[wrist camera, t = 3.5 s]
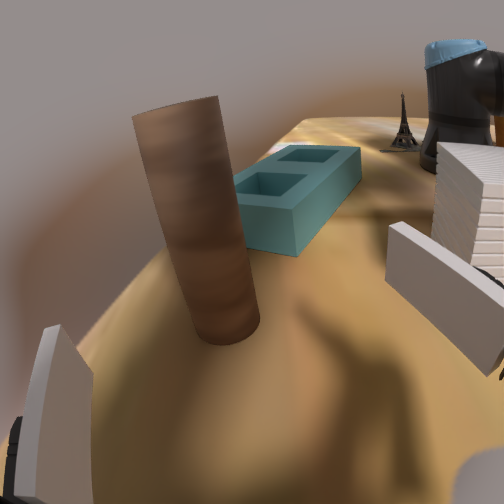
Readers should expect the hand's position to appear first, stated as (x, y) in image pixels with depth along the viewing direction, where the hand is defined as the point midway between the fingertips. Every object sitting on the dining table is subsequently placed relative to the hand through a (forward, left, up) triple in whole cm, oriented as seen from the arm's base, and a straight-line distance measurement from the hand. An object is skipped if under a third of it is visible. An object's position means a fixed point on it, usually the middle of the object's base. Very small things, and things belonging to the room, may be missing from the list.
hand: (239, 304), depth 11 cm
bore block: (-28, -12, -9) cm, 32 cm away
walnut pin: (-6, -7, -9) cm, 13 cm away
